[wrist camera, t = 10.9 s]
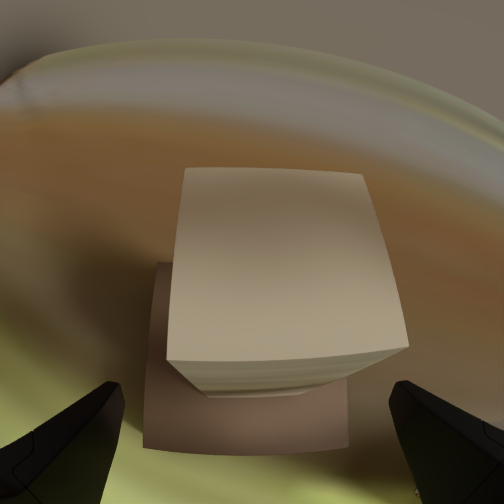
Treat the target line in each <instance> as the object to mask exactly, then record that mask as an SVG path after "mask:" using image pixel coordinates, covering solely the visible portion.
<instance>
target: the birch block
mask: <svg viewBox="0 0 504 504" xmlns="http://www.w3.org/2000/svg"><path fill="white" fill-rule="evenodd" d="M407 347H409V343H408V338H407V333H406V327H405V322H404V318H403V313H402V308H401V304H400V299H399V295H398V291H397V287H396V283H395V279H394V275H393V271H392V267H391V263H390V260H389V256H388V252H387V249H386V245H385V242H384V239H383V235H382V232H381V229H380V225H379V222H378V219H377V216H376V213H375V210H374V207H373V204H372V201H371V198H370V195H369V192H368V189H367V187H366V184H365V181H364V178H363V176H362V174H353V173H341V172H328V171H314V170H296V169H273V168H185V174H184V180H183V187H182V194H181V201H180V209H179V216H178V224H177V233H176V241H175V251H174V260H173V271H172V282H171V294H170V307H169V322H168V339H167V361H168V362H169V363H170V364H171V365H172V366H174V367H175V368H176V369H177V370H178V371H179V372H180V373H181V374H182V375H183V376H184V377H185V378H187V379H188V380H189V381H190V382H191V383H192V384H193V385H194V386H195V387H197V388H198V389H199V390H200V391H201V392H202V393H204V394H205V395H206V396H207V397H208V398H265V397H282V396H296V395H300V394H302V393H305V392H308V391H311V390H313V389H316V388H318V387H321V386H324V385H326V384H329V383H331V382H334V381H336V380H338V379H341V378H343V377H346V376H348V375H350V374H353V373H355V372H357V371H359V370H362V369H364V368H366V367H368V366H370V365H373V364H375V363H377V362H379V361H381V360H383V359H385V358H387V357H389V356H391V355H393V354H395V353H397V352H399V351H401V350H403V349H405V348H407Z"/></svg>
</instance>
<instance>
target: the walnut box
mask: <svg viewBox="0 0 504 504" xmlns="http://www.w3.org/2000/svg"><path fill="white" fill-rule="evenodd" d="M172 271H173V263H164V262H158V263H157V270H156V277H155V284H154V291H153V299H152V308H151V316H150V326H149V336H148V347H147V359H146V372H145V389H144V411H143V448H148V449H155V450H162V451H171V452H180V453H191V454H206V455H233V456H255V455H282V454H297V453H308V452H318V451H326V450H334V449H341V448H348V447H349V432H348V400H347V380H346V377H343V378H341V379H338V380H336V381H334V382H331V383H329V384H326V385H324V386H321V387H318V388H316V389H313V390H311V391H308V392H305V393H302V394H300V395H296V396H282V397H265V398H208V397H207V396H206V395H205V394H204V393H202V392H201V391H200V390H199V389H198V388H197V387H195V386H194V385H193V384H192V383H191V382H190V381H189V380H188V379H187V378H185V377H184V376H183V375H182V374H181V373H180V372H179V371H178V370H177V369H176V368H175V367H174V366H172V365H171V364H170V363H169V362H168V361H167V339H168V322H169V307H170V294H171V282H172Z"/></svg>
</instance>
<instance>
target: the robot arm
mask: <svg viewBox="0 0 504 504" xmlns="http://www.w3.org/2000/svg"><path fill="white" fill-rule="evenodd" d="M124 408H125V401H124V397H123V393H122V390H121V386H120V384H119V383H117V382H111V381H107V382H105V383H103V384H102V385H100V386H99V387H97V388H96V389H95V390H93V391H92V392H90V393H89V394H87V395H86V396H84V397H83V398H81V399H80V400H78V401H77V402H75V403H74V404H72V405H71V406H69V407H68V408H66V409H64V410H63V411H61V412H60V413H58V414H57V415H55V416H54V417H52V418H51V419H49V420H48V421H46V422H45V423H43V424H42V425H40V426H38V427H37V428H35V429H34V430H33V431H31V432H29V433H27V434H26V435H24V436H23V437H21V438H19V439H18V440H16V441H14V442H13V443H11V444H9V445H7V446H5V447H3V448H1V449H0V504H100V502H101V498H102V495H103V491H104V488H105V484H106V481H107V477H108V474H109V471H110V467H111V464H112V461H113V458H114V454H115V451H116V448H117V444H118V439H119V434H120V428H121V423H122V418H123V413H124ZM389 408H390V411H391V415H392V418H393V422H394V425H395V429H396V433H397V436H398V439H399V442H400V445H401V447H402V450H403V453H404V455H405V458H406V460H407V463H408V465H409V468H410V471H411V473H412V476H413V479H414V481H415V484H416V487H417V490H418V492H419V495H420V498H421V501H422V504H504V430H501V429H499V428H497V427H495V426H493V425H491V424H489V423H487V422H485V421H481V419H479V418H477V417H475V416H473V415H471V414H469V413H467V412H465V411H464V410H462V409H460V408H458V407H456V406H454V405H452V404H450V403H448V402H447V401H445V400H443V399H441V398H439V397H437V396H435V395H433V394H432V393H430V392H428V391H426V390H424V389H422V388H421V387H419V386H417V385H415V384H413V383H412V382H410V381H408V380H404V381H398V382H396V383H395V385H394V388H393V390H392V393H391V395H390V398H389Z"/></svg>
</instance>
